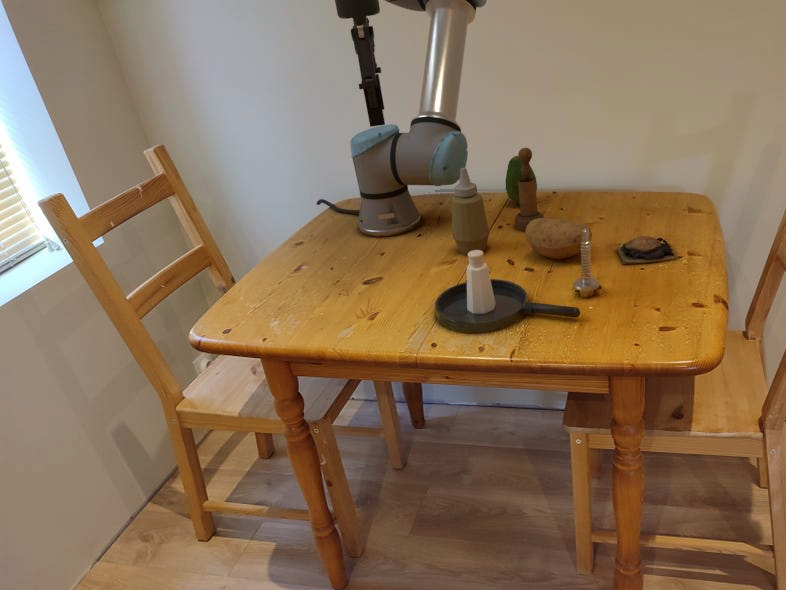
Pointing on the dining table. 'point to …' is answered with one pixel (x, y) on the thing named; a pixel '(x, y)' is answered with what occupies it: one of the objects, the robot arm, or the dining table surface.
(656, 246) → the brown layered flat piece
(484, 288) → the salt shaker
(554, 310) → the pan handle
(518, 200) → the avocado
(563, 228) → the potato
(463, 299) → the pan
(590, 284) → the screw
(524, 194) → the mortar and pestle
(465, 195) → the squeeze bottle
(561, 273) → the dining table surface
